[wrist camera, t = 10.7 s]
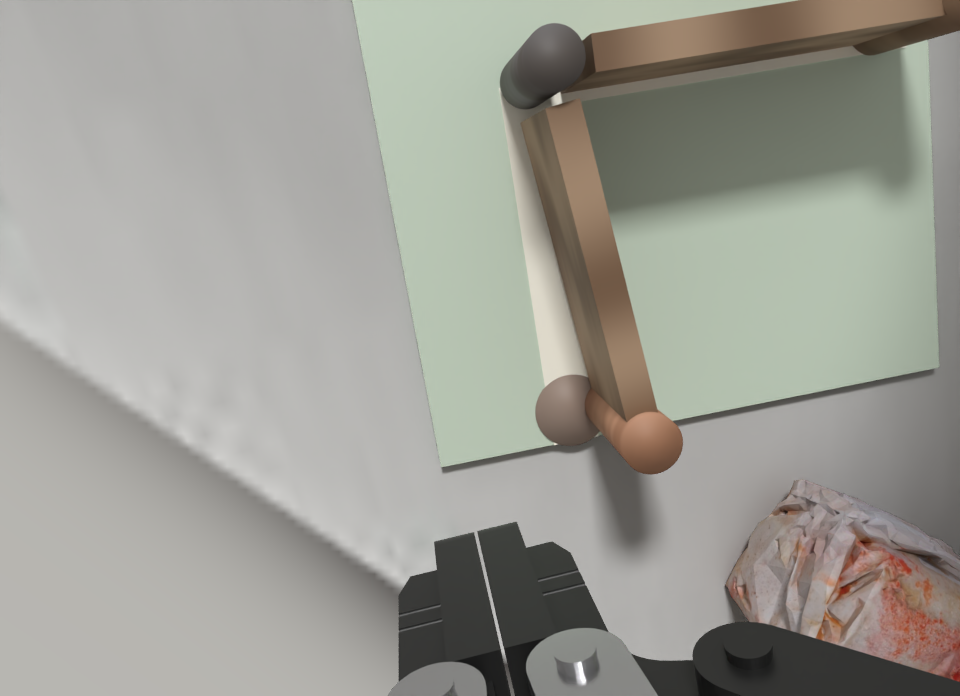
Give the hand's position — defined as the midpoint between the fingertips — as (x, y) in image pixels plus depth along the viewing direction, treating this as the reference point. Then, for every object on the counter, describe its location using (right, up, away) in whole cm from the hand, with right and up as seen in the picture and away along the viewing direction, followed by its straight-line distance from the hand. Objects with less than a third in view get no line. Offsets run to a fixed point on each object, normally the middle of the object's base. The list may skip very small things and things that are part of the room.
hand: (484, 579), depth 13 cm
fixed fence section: (+10, +16, +17) cm, 25 cm away
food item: (+18, -7, +23) cm, 30 cm away
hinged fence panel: (+4, +8, +17) cm, 19 cm away
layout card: (+8, +11, +18) cm, 23 cm away
